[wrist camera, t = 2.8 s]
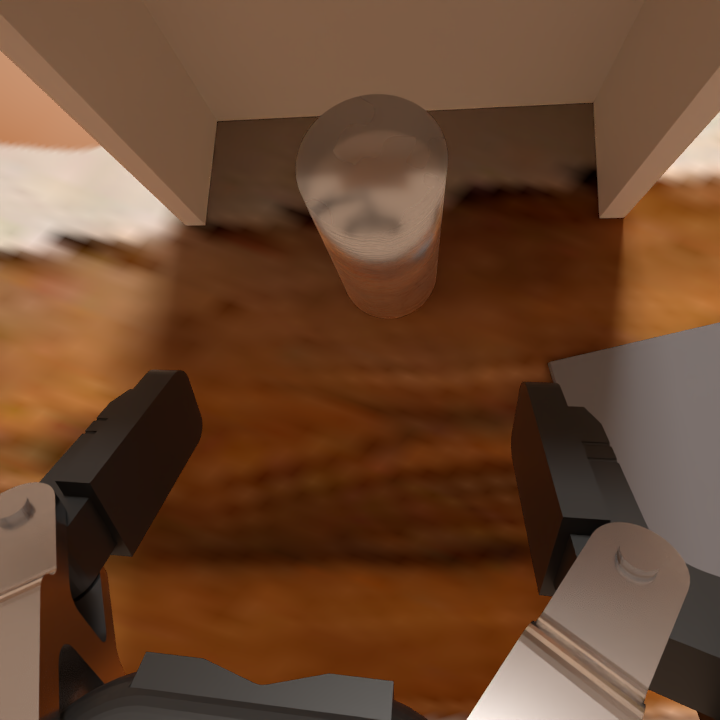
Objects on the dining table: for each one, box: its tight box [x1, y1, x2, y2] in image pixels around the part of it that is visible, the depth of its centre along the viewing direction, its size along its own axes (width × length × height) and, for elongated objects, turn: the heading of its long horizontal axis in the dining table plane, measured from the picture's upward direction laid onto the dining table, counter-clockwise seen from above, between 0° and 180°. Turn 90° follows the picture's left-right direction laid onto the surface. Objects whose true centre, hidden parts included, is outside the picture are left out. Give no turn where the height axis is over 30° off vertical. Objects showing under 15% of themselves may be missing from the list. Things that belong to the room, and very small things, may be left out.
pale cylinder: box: [296, 94, 448, 319], centre depth 20 cm, size 5×5×10 cm
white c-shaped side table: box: [0, 0, 720, 226], centre depth 15 cm, size 24×14×21 cm, turn 87°
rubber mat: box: [548, 323, 720, 577], centre depth 21 cm, size 11×11×1 cm
